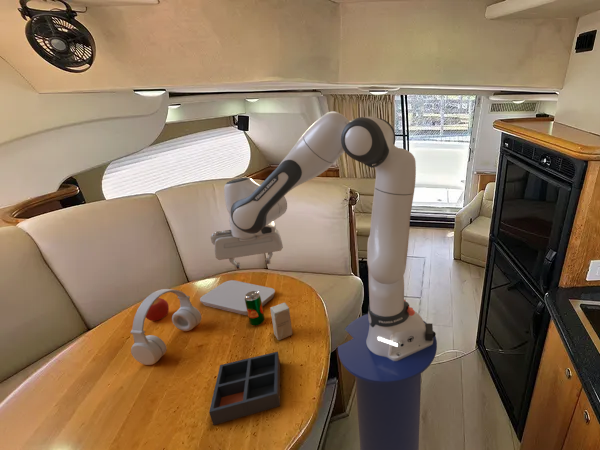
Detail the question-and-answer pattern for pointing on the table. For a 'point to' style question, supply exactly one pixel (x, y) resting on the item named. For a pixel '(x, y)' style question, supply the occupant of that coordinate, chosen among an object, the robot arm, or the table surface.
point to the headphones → (152, 346)
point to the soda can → (254, 308)
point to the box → (281, 321)
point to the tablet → (235, 296)
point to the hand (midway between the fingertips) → (253, 265)
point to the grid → (246, 388)
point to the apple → (158, 310)
